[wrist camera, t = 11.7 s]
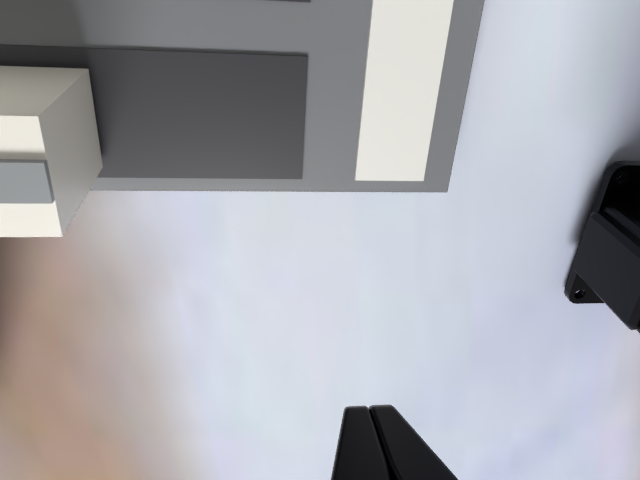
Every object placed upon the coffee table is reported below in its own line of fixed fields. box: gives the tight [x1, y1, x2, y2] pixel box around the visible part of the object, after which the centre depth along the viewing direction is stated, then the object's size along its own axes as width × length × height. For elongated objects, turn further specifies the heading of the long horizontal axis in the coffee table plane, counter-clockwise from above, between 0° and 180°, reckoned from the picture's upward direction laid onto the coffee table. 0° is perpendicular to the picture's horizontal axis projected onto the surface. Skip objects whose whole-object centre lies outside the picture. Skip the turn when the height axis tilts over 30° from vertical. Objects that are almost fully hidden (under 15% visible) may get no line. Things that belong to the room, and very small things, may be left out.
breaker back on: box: [0, 66, 103, 237], centre depth 14 cm, size 3×3×5 cm
